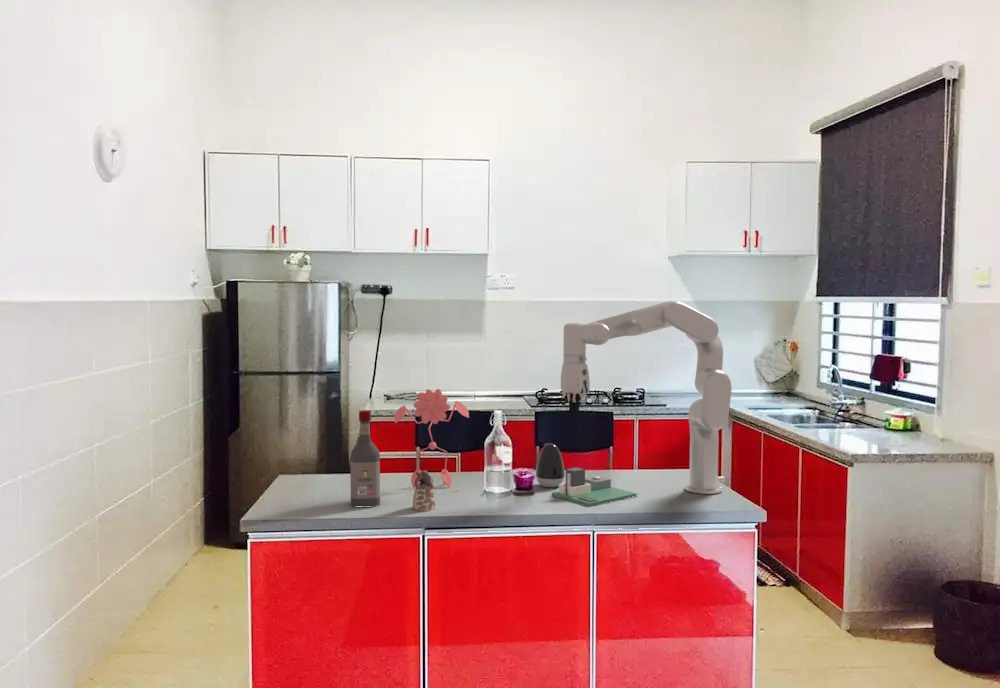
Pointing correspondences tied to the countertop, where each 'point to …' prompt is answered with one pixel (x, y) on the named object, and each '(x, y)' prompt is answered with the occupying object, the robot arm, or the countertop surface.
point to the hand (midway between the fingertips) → (574, 413)
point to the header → (575, 489)
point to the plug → (575, 477)
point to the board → (598, 496)
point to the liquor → (365, 467)
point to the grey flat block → (598, 482)
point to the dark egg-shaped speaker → (550, 466)
